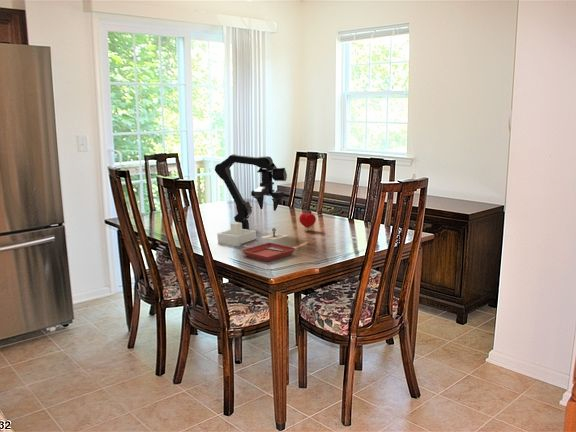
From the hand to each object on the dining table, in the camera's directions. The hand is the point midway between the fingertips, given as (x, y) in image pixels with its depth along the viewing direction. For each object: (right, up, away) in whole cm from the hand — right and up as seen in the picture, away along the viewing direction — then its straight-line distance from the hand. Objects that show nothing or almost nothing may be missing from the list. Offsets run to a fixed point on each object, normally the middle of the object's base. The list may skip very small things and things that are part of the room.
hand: (268, 209), depth 299 cm
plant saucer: (+2, -22, -41) cm, 47 cm away
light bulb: (+21, -12, 0) cm, 24 cm away
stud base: (+4, -15, -11) cm, 19 cm away
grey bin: (-15, -16, -16) cm, 27 cm away
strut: (-15, -16, -16) cm, 27 cm away
